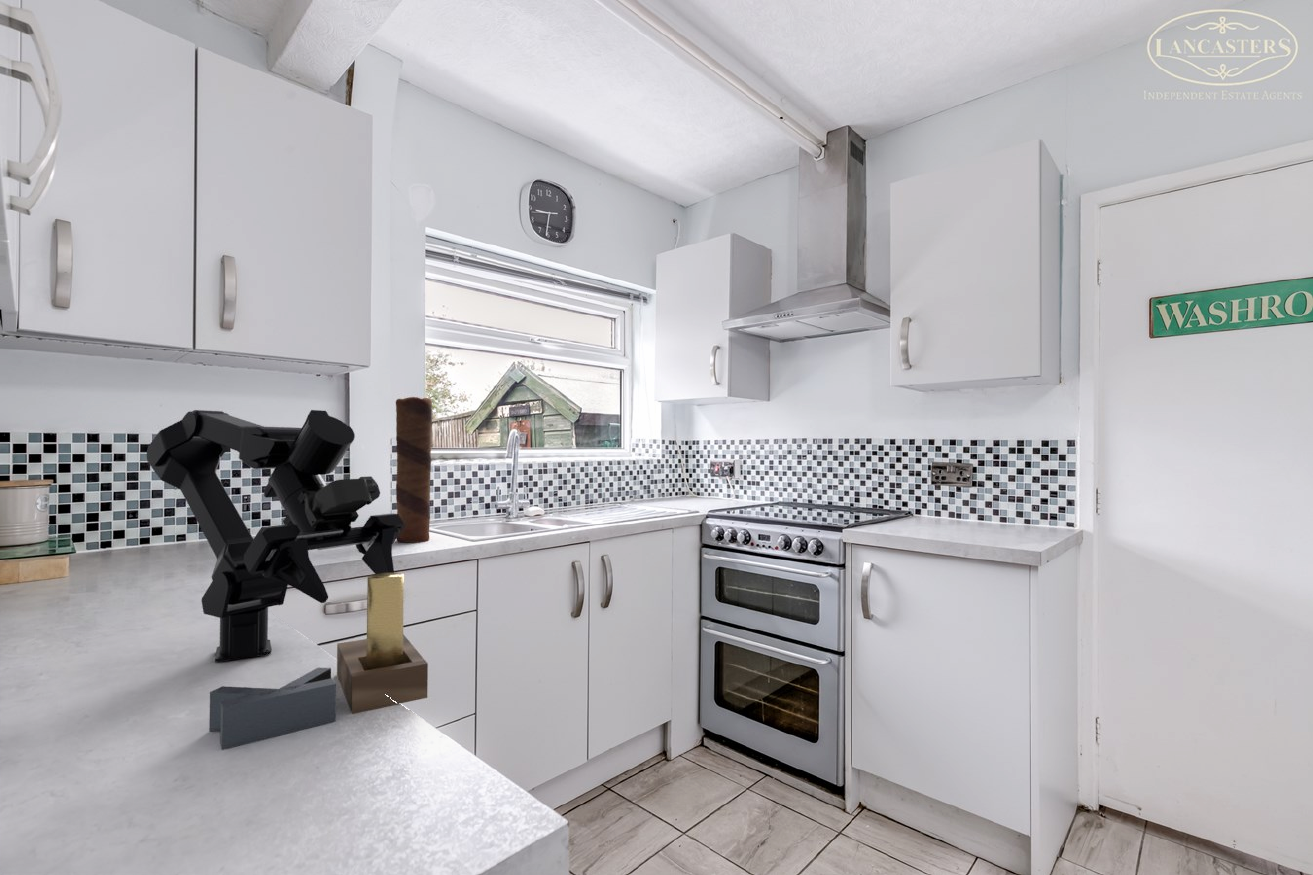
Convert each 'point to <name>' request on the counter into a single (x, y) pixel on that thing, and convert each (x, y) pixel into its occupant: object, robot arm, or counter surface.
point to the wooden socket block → (380, 677)
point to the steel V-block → (272, 709)
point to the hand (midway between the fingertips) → (360, 592)
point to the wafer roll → (413, 467)
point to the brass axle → (384, 620)
